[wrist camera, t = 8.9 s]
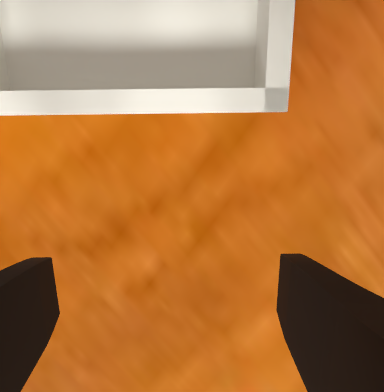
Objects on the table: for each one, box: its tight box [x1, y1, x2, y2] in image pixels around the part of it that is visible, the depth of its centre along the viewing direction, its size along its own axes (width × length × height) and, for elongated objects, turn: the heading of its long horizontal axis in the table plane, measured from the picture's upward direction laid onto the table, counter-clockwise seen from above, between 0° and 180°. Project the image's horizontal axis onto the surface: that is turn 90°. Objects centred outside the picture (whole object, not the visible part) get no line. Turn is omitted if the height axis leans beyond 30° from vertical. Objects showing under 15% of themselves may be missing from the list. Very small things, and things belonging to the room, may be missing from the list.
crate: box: [0, 0, 295, 115], centre depth 15 cm, size 14×9×4 cm, turn 91°
